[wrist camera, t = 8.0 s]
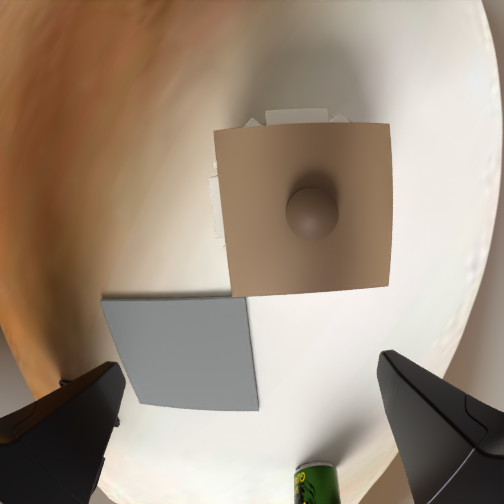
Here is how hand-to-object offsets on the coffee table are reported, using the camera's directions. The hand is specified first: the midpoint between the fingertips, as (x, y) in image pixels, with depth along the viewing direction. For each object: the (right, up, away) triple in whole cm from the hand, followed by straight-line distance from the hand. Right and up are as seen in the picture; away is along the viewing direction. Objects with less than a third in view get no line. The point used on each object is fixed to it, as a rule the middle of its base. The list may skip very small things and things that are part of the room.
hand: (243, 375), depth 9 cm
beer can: (+8, -23, +19) cm, 31 cm away
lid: (+3, +6, +5) cm, 9 cm away
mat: (-6, -5, +14) cm, 16 cm away
